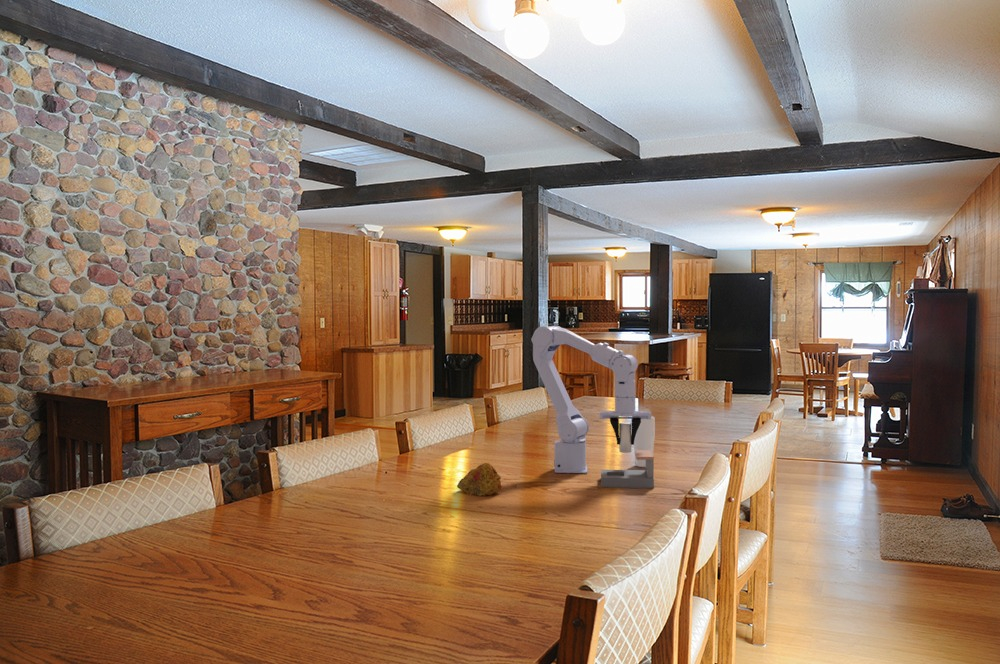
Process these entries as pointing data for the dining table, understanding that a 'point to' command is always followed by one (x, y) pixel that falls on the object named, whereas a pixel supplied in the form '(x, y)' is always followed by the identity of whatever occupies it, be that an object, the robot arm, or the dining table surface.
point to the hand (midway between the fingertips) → (625, 444)
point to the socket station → (631, 474)
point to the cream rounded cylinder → (644, 438)
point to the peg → (625, 437)
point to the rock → (481, 481)
